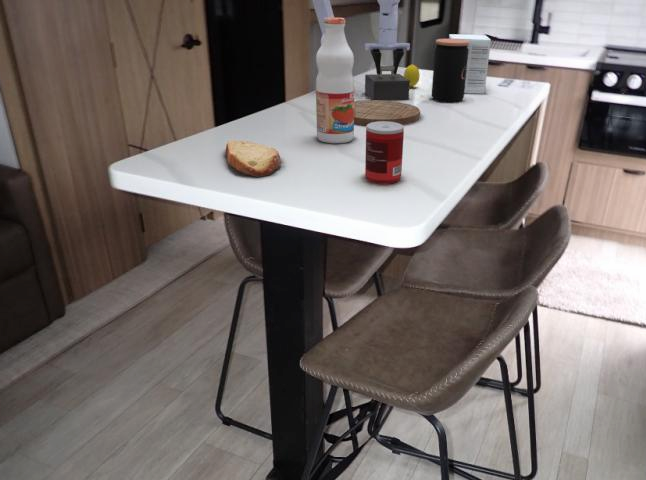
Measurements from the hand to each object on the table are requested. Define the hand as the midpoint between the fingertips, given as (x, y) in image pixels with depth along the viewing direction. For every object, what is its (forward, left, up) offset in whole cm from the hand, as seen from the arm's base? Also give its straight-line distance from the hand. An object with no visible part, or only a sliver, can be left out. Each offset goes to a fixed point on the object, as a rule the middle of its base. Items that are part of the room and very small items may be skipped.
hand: (386, 73), depth 195 cm
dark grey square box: (0, -1, -7) cm, 7 cm away
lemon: (+13, +13, -7) cm, 20 cm away
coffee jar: (+19, -8, -7) cm, 22 cm away
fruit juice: (-27, -50, -7) cm, 57 cm away
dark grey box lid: (0, -1, -2) cm, 2 cm away
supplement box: (+31, +7, -7) cm, 33 cm away
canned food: (-23, -82, -7) cm, 85 cm away
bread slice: (-50, -66, -7) cm, 83 cm away
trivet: (-10, -27, -7) cm, 30 cm away
